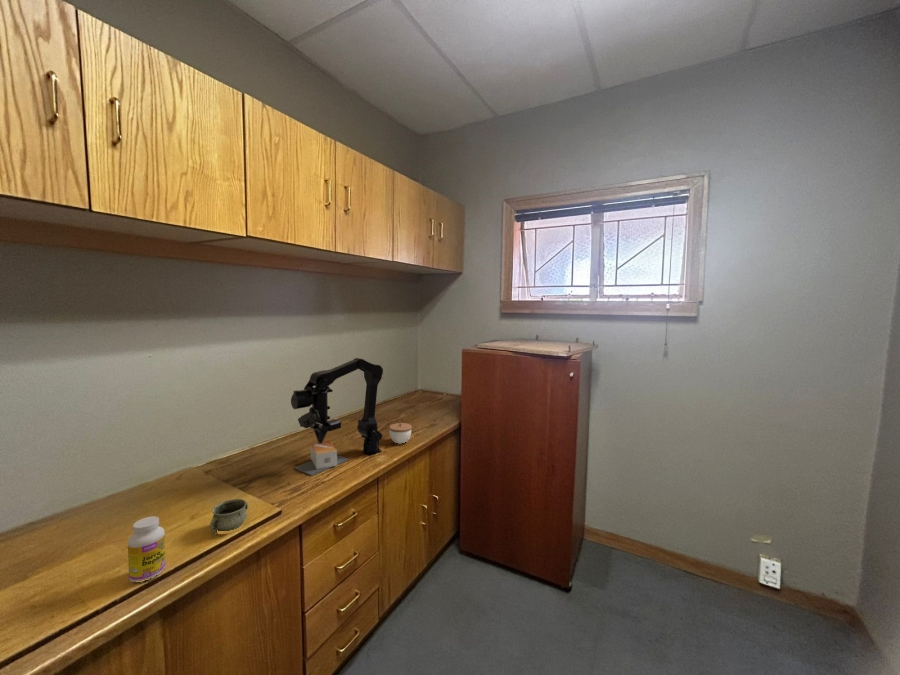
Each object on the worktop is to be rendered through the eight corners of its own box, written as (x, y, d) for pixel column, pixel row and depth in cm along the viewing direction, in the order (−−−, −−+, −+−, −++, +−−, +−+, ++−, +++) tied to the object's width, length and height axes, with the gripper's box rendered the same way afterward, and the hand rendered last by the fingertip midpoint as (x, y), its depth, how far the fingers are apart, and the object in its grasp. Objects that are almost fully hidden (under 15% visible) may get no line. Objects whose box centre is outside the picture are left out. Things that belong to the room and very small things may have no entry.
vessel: (222, 542, 96) (221, 520, 96) (198, 536, 99) (198, 514, 99) (259, 518, 108) (258, 498, 107) (236, 513, 110) (236, 493, 110)
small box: (316, 454, 139) (309, 443, 150) (316, 470, 140) (310, 458, 151) (337, 450, 143) (329, 440, 154) (337, 465, 144) (329, 454, 155)
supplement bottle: (140, 588, 80) (137, 533, 79) (122, 579, 83) (119, 526, 82) (172, 568, 86) (170, 517, 85) (155, 561, 89) (153, 511, 88)
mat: (332, 454, 157) (332, 452, 157) (348, 460, 150) (348, 458, 150) (294, 468, 142) (294, 467, 142) (311, 476, 136) (311, 474, 136)
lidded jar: (402, 447, 165) (402, 428, 165) (384, 443, 171) (384, 423, 170) (415, 440, 175) (416, 422, 174) (399, 436, 180) (399, 418, 180)
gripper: (287, 404, 139) (287, 444, 140) (317, 413, 128) (317, 455, 129) (312, 399, 148) (312, 436, 149) (341, 406, 138) (342, 445, 139)
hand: (320, 443), depth 141 cm, fingers closed
